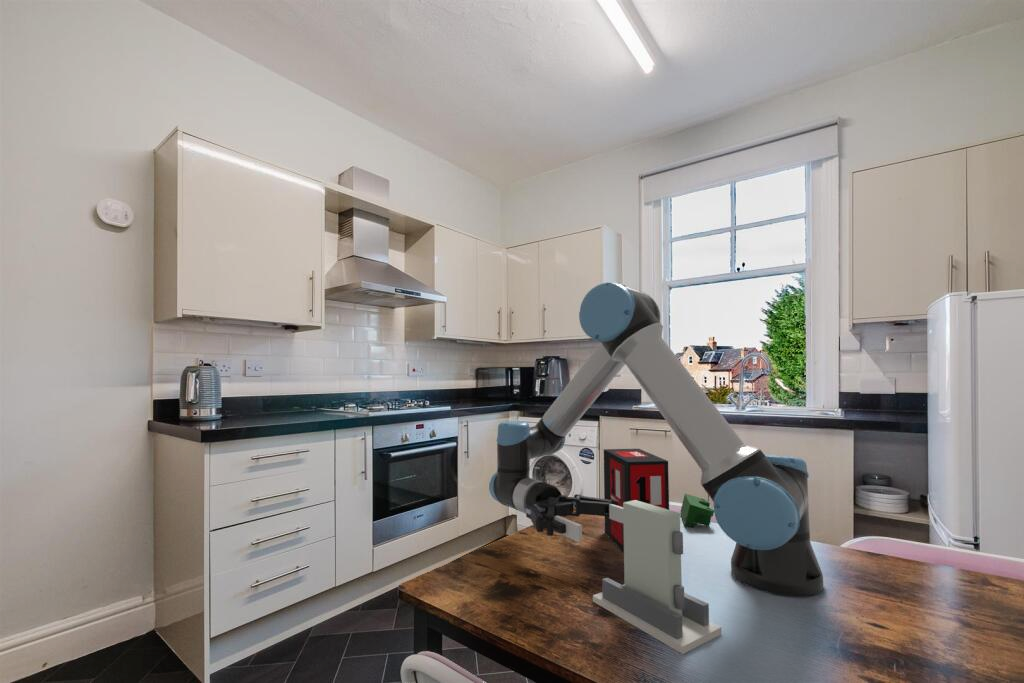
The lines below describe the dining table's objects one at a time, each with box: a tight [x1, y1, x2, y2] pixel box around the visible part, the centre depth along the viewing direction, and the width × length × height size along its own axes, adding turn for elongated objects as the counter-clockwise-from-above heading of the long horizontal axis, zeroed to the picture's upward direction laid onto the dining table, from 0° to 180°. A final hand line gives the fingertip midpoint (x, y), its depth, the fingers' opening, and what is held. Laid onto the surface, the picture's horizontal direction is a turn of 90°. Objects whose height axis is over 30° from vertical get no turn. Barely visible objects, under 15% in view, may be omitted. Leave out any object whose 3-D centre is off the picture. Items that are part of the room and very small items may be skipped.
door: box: [623, 500, 685, 615], centre depth 75 cm, size 10×3×16 cm, turn 33°
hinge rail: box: [592, 577, 723, 655], centre depth 75 cm, size 18×9×4 cm, turn 33°
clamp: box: [680, 493, 715, 528], centre depth 123 cm, size 12×6×9 cm, turn 161°
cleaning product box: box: [603, 448, 670, 554], centre depth 108 cm, size 16×9×20 cm, turn 7°
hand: (609, 526), depth 84 cm, fingers open, 13 cm apart
